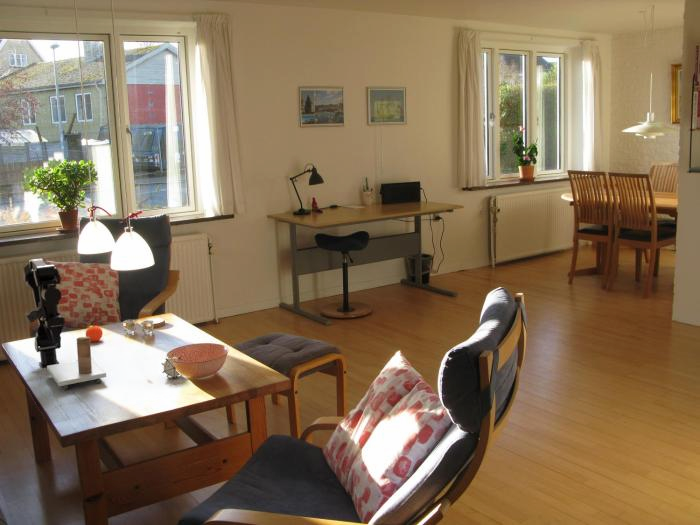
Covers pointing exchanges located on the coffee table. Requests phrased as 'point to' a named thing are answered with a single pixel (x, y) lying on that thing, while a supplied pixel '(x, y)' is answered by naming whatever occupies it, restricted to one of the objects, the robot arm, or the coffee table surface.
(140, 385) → the coffee table surface
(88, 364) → the cylinder
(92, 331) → the clementine
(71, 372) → the caster cart
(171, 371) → the grey spiky ball
